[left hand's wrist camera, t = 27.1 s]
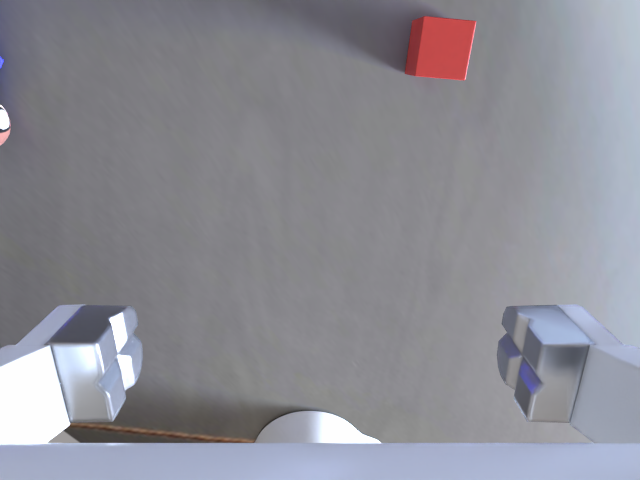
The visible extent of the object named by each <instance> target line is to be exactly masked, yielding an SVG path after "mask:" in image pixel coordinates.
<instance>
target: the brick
mask: <svg viewBox="0 0 640 480" xmlns="http://www.w3.org/2000/svg"><path fill="white" fill-rule="evenodd" d="M475 25H476V21H470V20H460V19H449V18H438V17H428V16H424V17H421V18H418V19H416V20H413V21H412V27H411V34H410V41H409V48H408V55H407V62H406V69H405V74H408V75H413V76H421V77H432V78H444V79H455V80H465V77H466V72H467V67H468V62H469V56H470V51H471V46H472V41H473V35H474V30H475Z"/></svg>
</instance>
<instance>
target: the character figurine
mask: <svg viewBox="0 0 640 480" xmlns="http://www.w3.org/2000/svg"><path fill="white" fill-rule="evenodd" d="M2 63H3V59H1V58H0V68H1V65H2ZM10 129H11V123H10V119H9V116H8V114H7V112H6V110H5V109H4V108H3V107H2V105H1V104H0V145H1V144H3V143H4V142H5V141H6V139H7V138H8V136H9V133H10Z"/></svg>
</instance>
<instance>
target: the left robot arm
mask: <svg viewBox="0 0 640 480" xmlns="http://www.w3.org/2000/svg"><path fill="white" fill-rule="evenodd" d="M137 325H138V320H137V315H136V310H135V309H134V308H133V307H132V306H115V305H84V304H83V305H61V306H58V307H57V308H56V309H54V310H53V311H52V312H51V313H50V314H49V315H48V316H47V317H46V318H45V319H44V320H43V321H41V322H40V323H39V324H38V325H37V326H36V327H35V328H34V329H33V330H32V331H31V332H30V333H28V334H27V335H26V336H25V337H24V338H23V339H22V340H21V341H20V342H19V343H18V344H16V345H7V346H5V347H2V348H0V480H640V348H638V347H635V346H633V345H624V344H622V343H621V342H620V341H619V340H618V339H617V338H616V337H615V336H614V335H613V334H612V333H611V332H609V331H608V330H607V329H606V328H605V327H604V326H603V325H602V324H601V323H600V322H599V321H598V320H596V319H595V318H594V317H593V316H592V315H591V314H590V313H589V312H588V311H587V310H586V309H585V308H583V307H582V306H580V305H576V304H573V305H534V306H509V307H506V309H505V311H504V314H503V319H502V325H503V327H504V328H505V330H506V331H507V333H506V334H505V335H504V336H503V337H502V338H501V339H500V341H499V343H498V350H497V360H498V368H499V371H500V375H501V377H502V379H503V381H504V383H505V384H506V385H508V386H509V387H511V388H512V389H514V390H515V394H514V400H515V402H516V403H517V405H518V407H519V409H520V410H521V412H522V414H523V415H524V417H525V419H526V421H527V422H558V423H570V425H571V426H572V427H574V428H575V429H576V430H578V431H579V432H580V433H582V434H583V435H584V436H586V437H587V438H588V439H590V440H591V441H592V442H593V443H381V442H379V441H378V440H376V439H374V438H372V437H369V436H366V435H363V434H361V433H360V432H359V431H358V430H356V429H355V428H354V427H353V426H352V425H351V424H350V423H348V422H347V421H345V420H343V419H342V418H340V417H338V416H335V415H332V414H329V413H325V412H319V411H300V412H294V413H290V414H287V415H284V416H281V417H279V418H277V419H275V420H274V421H272V422H271V423H269V424H268V425H267V426H266V427H265V428H264V429H263V430H262V431H261V433H260V434H259V436H258V437H257V439H256V441H255V442H254V443H47V442H48V441H49V440H51V439H52V438H53V437H55V436H56V435H57V434H59V433H60V432H61V431H63V430H64V429H65V428H67V427H68V426H69V425H70V423H82V422H113V421H114V419H115V417H116V415H117V414H118V412H119V410H120V409H121V407H122V405H123V403H124V402H125V400H126V394H125V390H126V389H128V388H129V387H131V386H132V385H134V384H135V382H136V381H137V379H138V377H139V375H140V371H141V367H142V363H143V349H142V343H141V341H140V339H139V338H138V337H137V336H136V335H135V334H134V333H133V331H134V330H135V328H136V327H137Z"/></svg>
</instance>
